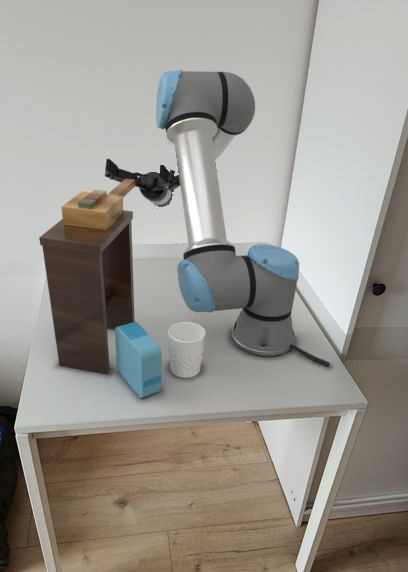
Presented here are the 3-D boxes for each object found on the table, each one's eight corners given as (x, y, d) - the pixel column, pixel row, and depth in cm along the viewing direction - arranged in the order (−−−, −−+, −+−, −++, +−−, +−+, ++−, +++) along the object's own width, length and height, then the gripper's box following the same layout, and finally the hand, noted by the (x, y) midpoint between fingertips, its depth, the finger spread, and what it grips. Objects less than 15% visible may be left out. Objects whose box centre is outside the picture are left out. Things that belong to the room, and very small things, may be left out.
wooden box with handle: (112, 183, 122) (111, 164, 119) (148, 187, 120) (148, 168, 118) (63, 224, 99) (60, 201, 96) (106, 230, 98) (105, 207, 95)
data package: (161, 394, 105) (162, 347, 98) (142, 401, 102) (141, 353, 96) (135, 364, 113) (133, 318, 106) (116, 370, 110) (114, 324, 104)
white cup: (207, 362, 114) (209, 326, 109) (196, 383, 108) (199, 345, 102) (174, 355, 116) (175, 318, 110) (162, 375, 110) (162, 337, 104)
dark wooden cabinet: (90, 321, 126) (79, 204, 109) (136, 329, 124) (133, 211, 107) (57, 365, 111) (38, 237, 93) (109, 374, 109) (100, 245, 92)
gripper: (196, 207, 141) (182, 189, 120) (111, 196, 144) (83, 177, 123) (200, 180, 140) (186, 157, 119) (115, 170, 143) (87, 146, 123)
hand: (134, 167), depth 121 cm, fingers open, 13 cm apart
